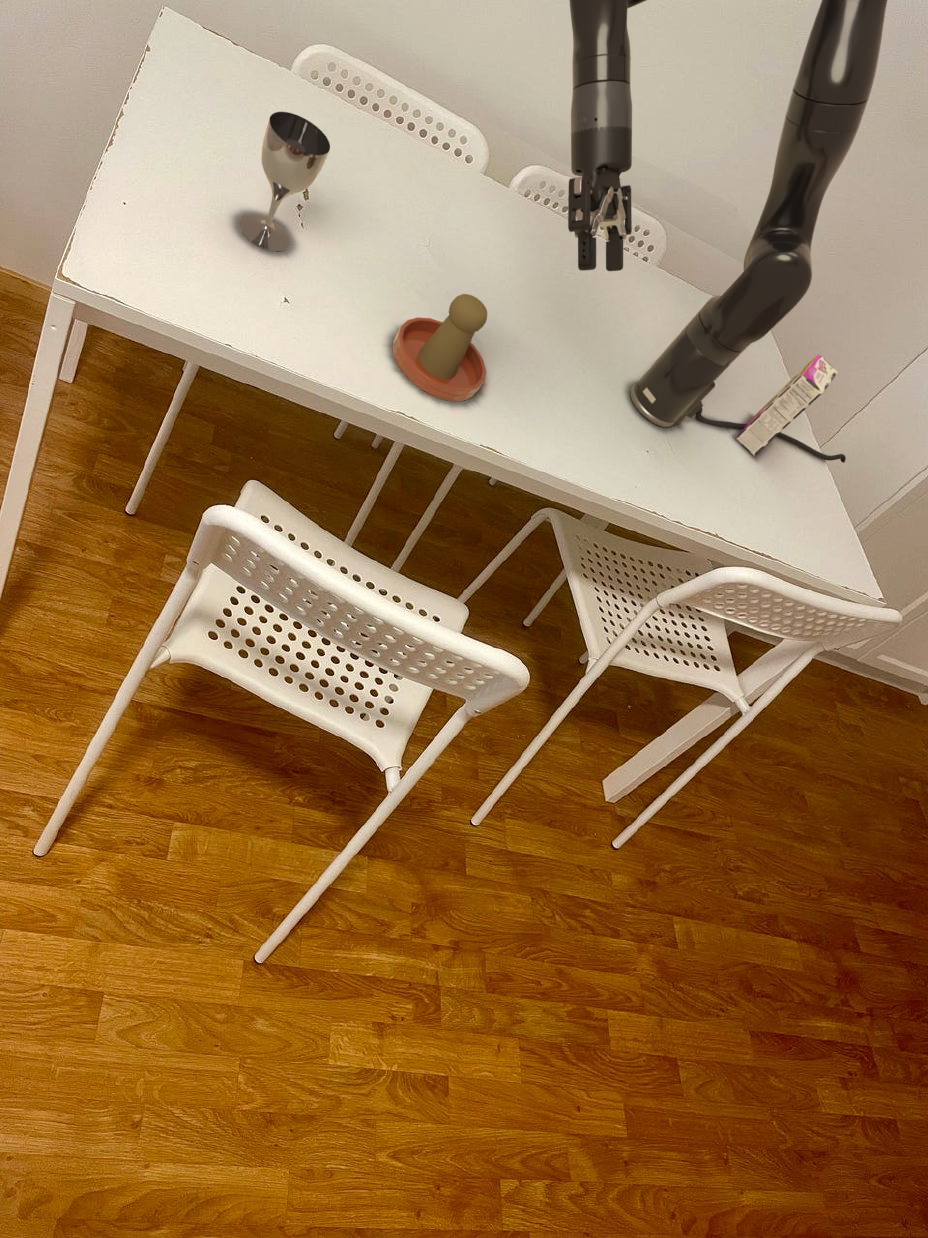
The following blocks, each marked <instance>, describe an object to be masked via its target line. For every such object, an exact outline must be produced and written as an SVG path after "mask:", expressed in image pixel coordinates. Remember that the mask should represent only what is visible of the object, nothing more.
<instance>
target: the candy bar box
mask: <svg viewBox="0 0 928 1238" xmlns="http://www.w3.org/2000/svg"><path fill="white" fill-rule="evenodd" d="M838 373H839V372H838V371H837V369H836V368H835V367H833V366H832V365H831V363H830V362H828V361H827V360H826V359H825V357H823V356H822V355H821V354H819V353H817V354H816V355H815V357H813V358H812V359H811V360H810V361H809V362H808V363H807V364H806V365H805V366H804V367H802V369H801V370H800V371H799V372H798V373H797V374H796V375H795V376H794V377H792V378H791V379H790V380H789V381H788V382H787V383H786V384H785V385H784V386H783V387H782V388H781V389H780V390H779V391H778V392H777V393H776V394H775V395H774V396H773V397H772V398H771V399H770V400H769V401H768V402H767V403H766V404H765V405H764V406H763V407H762V408H760V409H759V411H758V412H756V414H755V415H753V416H752V418H751V419H750V420H749V422H747V423H746V424H747V425H746V426H745V428H744V429H741V431H740V432H739V434H738V435H737V436H736V437H735V439H736V441H738V443H739V444H740V445H741V446H742V447H743V448H744V449H746V450H747V451H748V452H749V453H750V454H751V455H752V456H753V457H755V456H756V455H757V454H759V453H760V451H762V450H763V449H764V448H765V447H766V446H767V445H768V444H769V443H770V442H772V440H774V439H775V438H776V437H777V435H778V434H779V433H780V432H781V433H782V432H783V430H785V429H786V428H787V427H788V426H789V425H790V424H791V423H792V422H793V421H795V419H796V418H798V417H799V416H800V415H801V414H802V413H803V412H804V411H806V409H807V408H809V406H811V405H812V403H814V402H815V401H816V400H817V399H818V398H819V397H820V396H821V395H823V394H824V393H825V391H826V390H827V389H828V387H829V386H830V384H831V383H832V382H833V380H834V379H835V378H836V376H837V374H838Z"/></svg>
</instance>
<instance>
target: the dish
mask: <svg viewBox="0 0 928 1238" xmlns="http://www.w3.org/2000/svg"><path fill="white" fill-rule="evenodd" d="M443 322H444V321H440V320H437V319H434V318H430V317H419V316H417V317H414V318H411V319H407V320H406V321H405V322H403V324H402V325H400V327H399V329H398V331H397V333H396V334H395V337H394V339H393V341H392V353H393V357H394V359H395V362H396V364H397V366H398V368H399V369H400V370H401V372H402V373H403V374H404V376H405V377H406V378H407V379H408V380H409V381H410V382H411V383H412V384H413V385H415V386H416V387H417V388H419V389H421V390H422V391H423V392H425V393H427V394H429V395H431V396H432V397H435V398H436V399H437V398H438V399H441V400H444V401H449V402H463V401H467V400H469V399H471V398H473V397H474V396H475V395H476V394H477V392H478V391H479V390H480V388H481V387H482V385H483V384H484V383H485V380H486V374H487V369H486V365H485V360H484V359H483V356H482V355H481V353H480V351H479V350H478V349H477V347H476V346H475V345H474V344H473V343H472V342H470V344H469V346H468V348H467V351H466V353H465V355H464V357H463V359H462V362H461V364H460V366H459V368H458V371H457V373H456V375H455V376H454V377H453V378H451V379H442V378H438V377H436V376H434V375H432V374H431V373H429V372H428V371H427V370H426V369H425V368H424V367H423V366H422V364H421V363H420V361H419V357H418V354H419V351H420V350H421V349H422V347H423V346H424V345H425V344H426V342H427V341H428V340H429V339H430V338H431V336H432V335H433V334H434V333H435V331H436V330H437V329H438V328H439V327H440V325H441V324H442V323H443Z"/></svg>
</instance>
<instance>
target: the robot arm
mask: <svg viewBox="0 0 928 1238" xmlns="http://www.w3.org/2000/svg"><path fill="white" fill-rule="evenodd" d="M568 2H569V12H570V21H571V22H570V23H571V29H572V30H571V31H572V63H571V64H572V65H571V66H572V67H571V69H572V72H571V73H572V98H571V105H570V106H571V107H570V162H571V163H570V164H571V165H570V167H571V169H570V171H571V173H572V175H574V176H577V177H573V178H569V180H568V197H567V198H568V202H567V203H568V204H567V205H568V207H567V209H568V211H567V219H568V220H567V229H568V231H569V232H570V233H574V237H575V238H576V239H577V268H578V270H579V271H594V270H595V269H596V268H597V237H596V235H597V232H598V228H599V227H601V228H602V229H603V231H604V236H605V240H606V241H605V269H606V271H607V272H619V271H622V270H623V269H624V240H626V238H627V236H629V235H631V234H632V232H633V231H632V230H633V227H632V223H633V222H632V221H633V220H632V215H633V214H632V186H631V185H630V184H627V185H621V179H620V175H621V174H622V173H626V172H628V171H629V170H630V169H631V168H632V163H633V101H632V90H631V67H632V66H631V60H632V58H631V57H632V56H631V53H632V52H631V42H630V35H629V29H628V9H630V8H633V7H636V6H637V5H639V4H642V3H645V2H647V0H569V1H568ZM887 4H888V0H821V2H820V5H819V7H818V9H817V13H816V15H815V18H814V22H813V24H812V26H811V27H812V28H811V31H810V32H809V36H808V40H807V42H806V46H805V48H804V51H803V55H802V57H801V61H800V64H799V68H798V71H797V74H796V77H795V80H794V83H793V87H792V91H791V95H790V97H789V101H788V105H787V108H786V112H785V116H784V121H783V124H782V129H781V133H780V137H779V141H778V146H777V151H776V156H775V162H774V167H773V174H772V179H771V183H770V188H769V192H768V195H767V198H766V201H765V204H764V206H763V209H762V212H761V215H760V217H759V220H758V223H757V224H756V227H755V230H754V231H753V234H752V237H751V238H750V242H749V244H748V247H747V248H746V249H747V250H746V252H745V255H744V259H743V260H744V261H743V271H742V273H741V274H740V275H739V276H738V277H737V278H736V279H735V280H734V281H733V282H732V284H731V285H730V286H729V287H728V288H727V289H726V290H725V291H724V292H723V293H722V294H721V295H713V296H712V297H710V299H709V300H708V301H706V302H705V304H704V305H703V306H702V307H701V309H699V311H698V312H696V314H695V315H694V316H693V317H692V318H691V319H690V321H689V322H688V323H687V324H686V326H685V327H684V328H683V329H682V330H681V331H680V332H679V334H678V335H677V336H676V337H675V338H674V339H673V340H672V341H671V343H670V344H669V345H668V346H667V347H666V349H665V350H664V351H663V352H662V353H661V354H660V355H659V356H658V357H657V359H656V360H655V361H654V362H653V363H652V364H651V365H650V367H649V368H648V369H647V370H646V371H645V372H644V373H643V375H642V376H641V377H640V379H639V380H637V381H636V382H635V383H634V384H633V385H632V386H631V388H630V390H629V391H630V398H631V401H632V403H633V405H634V406H635V408H636V409H637V411H638V412H639V413H640V414H641V416H643V417H644V418H645V419H646V420H648V421H649V422H650V423H653V425H656V426H659V427H661V428H670V427H672V426H673V425H676V426H678V425H680V423H681V422H682V421H683V420H684V419H685V418H686V417H688V418H693V417H694V416H695V418H696V419H697V420H698V421H699V422H700V423H703V424H705V425H708V426H714V427H722V428H730V429H739V430H743V429H744V428H745V426H746V425H747V424H748V423H741V422H733V421H724V420H723V421H722V420H714V419H708V418H706V417H704V416H703V415H702V413H703V407H704V404H703V402H702V401H703V400H704V399H705V398H706V397H707V396H708V395H709V394H710V392H712V391H713V389H715V387H716V382H715V381H717V379H718V378H719V377H720V376H721V375H722V374H723V373H724V372H725V371H726V370H727V369H728V368H729V367H730V366H731V365H732V363H733V362H734V361H736V360H737V358H738V357H740V355H742V353H743V352H744V351H746V349H747V348H748V347H749V346H750V345H751V344H753V343H756V342H758V341H760V340H761V339H763V338H764V337H765V336H766V335H767V334H768V333H769V332H770V331H772V330H773V329H774V328H775V327H776V325H778V324H779V323H780V322H781V321H782V320H783V319H784V318H785V317H786V316H788V314H789V313H791V311H792V310H793V309H794V308H796V306H797V305H798V304H799V303H800V301H802V299H803V298H804V297H805V295H806V294H807V293H808V291H809V289H810V286H811V283H812V280H813V267H812V254H811V253H812V252H811V251H812V244H813V238H814V233H815V228H816V224H817V221H818V217H819V213H820V209H821V206H822V204H823V203H822V202H823V199H824V197H825V195H826V192H827V190H828V189H829V186H830V184H831V182H832V180H833V179H834V178H835V176H836V175H837V173H838V171H839V169H840V167H841V166H842V164H843V162H844V160H845V159H846V157H847V155H848V153H849V151H850V149H851V147H852V145H853V143H854V140H855V138H856V136H857V133H858V130H859V128H860V126H861V123H862V119H863V116H864V114H865V111H866V107H867V106H868V105H867V104H868V101H869V98H870V95H871V92H872V89H873V86H874V82H875V77H876V74H877V68H878V64H879V63H878V62H879V57H880V52H881V45H882V38H883V31H884V23H885V17H886V12H887V11H886V10H887ZM776 437H777V438H779V439H781V440H783V441H786V442H787V443H790V444H792V445H795V446H797V447H799V448H801V449H802V450H804V451H806V452H807V453H810V454H811V455H813V456H815V457H817V458H819V459H822V460H824V461H829V462H830V461H836V460H840V462H842V463H843V464H844V463H845V462H846V459H847V456H846V455H845V454H844V453H837V454H833V455H828V454H824V453H822V452H820V451H818V450H817V449H814V448H812V447H811V446H809V445H807V444H806V443H804V442H802V441H800V440H798V439H797V438H794V437H792V436H790V435H787V434H785V433H783V432H782V431H781V432H780V433H779V434H778V435H777V436H776Z"/></svg>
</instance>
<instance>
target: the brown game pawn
mask: <svg viewBox="0 0 928 1238" xmlns="http://www.w3.org/2000/svg"><path fill="white" fill-rule="evenodd" d="M487 319H488V309H487V307H486V306H485V304H484V303H483V302H482V301H481V300H480V299H479V298H477V297H476V296H474V295H472V294H468V293H462V294H458V295H457V296H455V298H454V299H453V300H452V301H451V303H450V305H449V308H448V316H447V317H446V318H445V319H444V320H443V321H442V322H443V323H442V324H441V325H440V327H439V328H438V329H437V330H436V331H435V333H434V334H433V335H432V336H431V338H430V339H429V340H428V341H427V342H426V344H425V345H424V346H423V347H422V349H421V350H420V351H419V354H418V357H419V361H420V363H421V364H422V366H423V367H424V368H425V369H426V370H427V371H428V372H429V373H431V374H432V375H434V376H436V377H438V378H442V379H451V378H453V377H454V376H455V375H456V373H457V371H458V368H459V366H460V364H461V362H462V359H463V357H464V355H465V353H466V351H467V348H468V346H469V344H470V342H471V341H472V339H473V337H474V335H475V333H477V332H479V331H480V330H481V329H482V328H483V327H484V326H485V325H486V322H487ZM471 343H472V342H471Z"/></svg>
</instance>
